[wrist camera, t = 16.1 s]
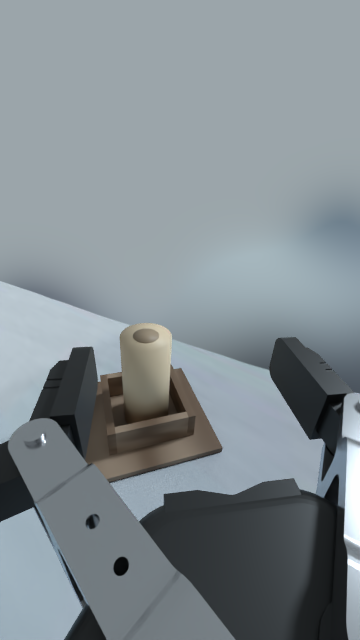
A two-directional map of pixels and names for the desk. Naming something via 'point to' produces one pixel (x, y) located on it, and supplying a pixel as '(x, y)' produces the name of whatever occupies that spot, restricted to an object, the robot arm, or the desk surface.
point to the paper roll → (145, 371)
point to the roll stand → (147, 431)
